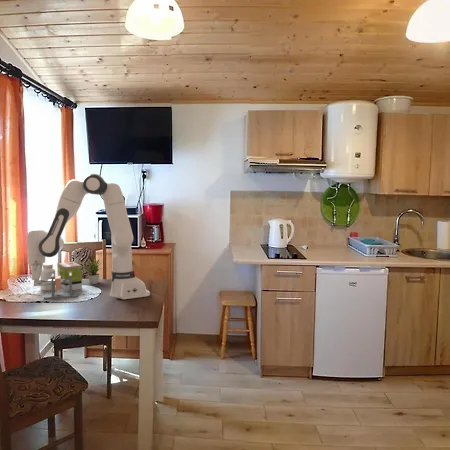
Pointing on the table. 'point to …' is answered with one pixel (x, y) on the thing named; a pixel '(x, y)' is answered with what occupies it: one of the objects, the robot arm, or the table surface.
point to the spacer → (58, 283)
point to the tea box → (76, 274)
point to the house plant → (93, 272)
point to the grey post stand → (61, 294)
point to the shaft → (48, 282)
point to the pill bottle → (47, 275)
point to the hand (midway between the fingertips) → (37, 284)
